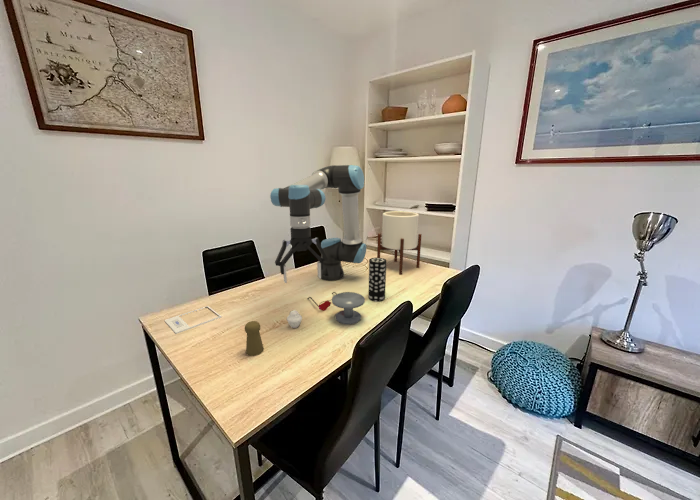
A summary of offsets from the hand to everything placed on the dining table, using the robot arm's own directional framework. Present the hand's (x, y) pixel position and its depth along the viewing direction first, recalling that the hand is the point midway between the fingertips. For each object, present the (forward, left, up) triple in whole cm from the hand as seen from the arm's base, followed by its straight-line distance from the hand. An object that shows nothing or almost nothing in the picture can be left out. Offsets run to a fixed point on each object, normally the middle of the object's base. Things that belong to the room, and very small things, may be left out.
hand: (302, 279), depth 113 cm
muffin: (0, -4, -20) cm, 21 cm away
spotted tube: (-13, +39, -20) cm, 46 cm away
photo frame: (-21, -44, -21) cm, 53 cm away
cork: (+12, -20, -20) cm, 31 cm away
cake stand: (+1, +19, -20) cm, 27 cm away
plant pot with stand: (-51, +72, -20) cm, 91 cm away
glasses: (-17, +14, -21) cm, 30 cm away
